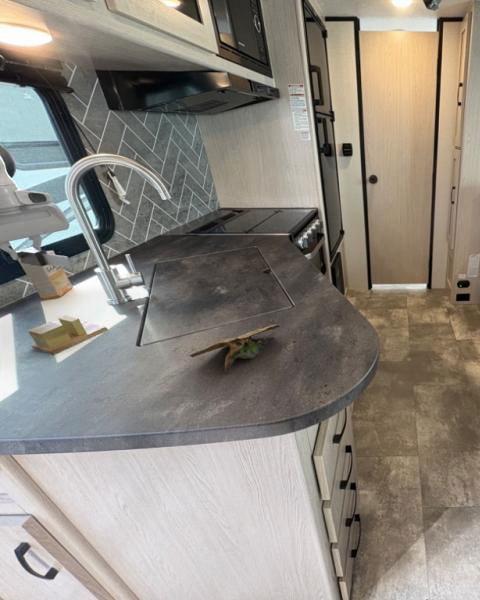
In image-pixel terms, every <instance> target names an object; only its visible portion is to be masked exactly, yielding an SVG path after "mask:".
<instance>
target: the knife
mask: <svg viewBox="0 0 480 600" xmlns="http://www.w3.org/2000/svg"><path fill="white" fill-rule="evenodd" d="M30 248H31V247H25V248H20V249H15V250H14V251H21V252H22V254H23V256H24V257H25V258H23V259H19V260H21V262H22V263H23V264H30V265H36V266H45V265H49V266H56V267H62V268H63V269H70V270H74V269H75V267H74V265H73V264H72V261H71V260H70V257H69V256H66V255H61V254H55V255H52V254H47V252H46V251H47V250H45V249H41V250H38V249H30Z"/></svg>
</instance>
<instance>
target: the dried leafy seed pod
mask: <svg viewBox="0 0 480 600" xmlns="http://www.w3.org/2000/svg"><path fill="white" fill-rule="evenodd" d="M276 328H280V324H272V325H269V326H265V327H263V328H257V329H254V330H252V331H249V332H247V333H243V334H242V335H240V336H238V337H231V338H227V339H226V338H225V339H222V340H219V341H217V342H215V343H213V344H211V345H209V346H207V347H205V348H203V349H200V350H197V351H196V352H193V353H192V354H189V356H188V357H191V358H195V357H198V356H200V355H203V354H206V353H209V352H212V351H215V350H218V349H222V348H225V347H227V348H228V349H229V351H228V352H227V354H226V355H225V359H224V371H225V372H224V373H225V374H226V375H227V374H229V373H230V369H231V367H232V365H233V364H234V363H235V360H236V359H237V358H240V359H243V360H253V359H255V358H256V357H257V356H259V355H260V354H261V352H262V351H263V349H264V348H265V346H266V345H267V343H268V342H269V340H275V336H269V338H268V339H266V338H263V340H262V339H260V340H258V341H253V337H254V336H256V335H259V334H261V333H264V332H267V331H273V330H276Z"/></svg>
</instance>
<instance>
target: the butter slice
mask: <svg viewBox="0 0 480 600" xmlns="http://www.w3.org/2000/svg"><path fill="white" fill-rule="evenodd" d="M58 321H59V322H60V325H63V327H64V328H65V330H66V332H67V333H71V334H75V335H79V336H80V335H82V334H84V333H86V331H85V329H84V327H83V326H82V323H81V320H80V319H79V318H78V317H73V316H69V315H63V316H61V317H59V318H58Z"/></svg>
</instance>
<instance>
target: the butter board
mask: <svg viewBox="0 0 480 600" xmlns="http://www.w3.org/2000/svg"><path fill="white" fill-rule="evenodd" d="M81 324H82V326H83V327H84V329H85V331H86V333H84V334H82V335H80V336H79V335H75V334H71V333H67V332H66V330H65V328H64V327H63V325H62V324H61V323H60V324H59V323H56V322H51V321H49V322H46V323H44V324H43V323H42V324H41V325H37V326H36V327H33V328H30V329H28V330H27V333H28V334H29V335H30V337H31V338H32V340H33V342H34V343H32V344H30V347H31V349H33V350H35V351H39V352H43V353H46V354H49V355H52V356H55V355H57V354H58V353H61V352H63V351H65V350H67V349H69V348H71V347H74V346H77V345H78V344H80V343H82V342H85V341H86V340H89V339H91V338H93V337H96V336H98V335H100V334H102V333H104V332H106V331H108V328H107V326H105V325H102V324H101V325H100V324H97V323H91V322H87V321H84V322H82V323H81Z"/></svg>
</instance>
